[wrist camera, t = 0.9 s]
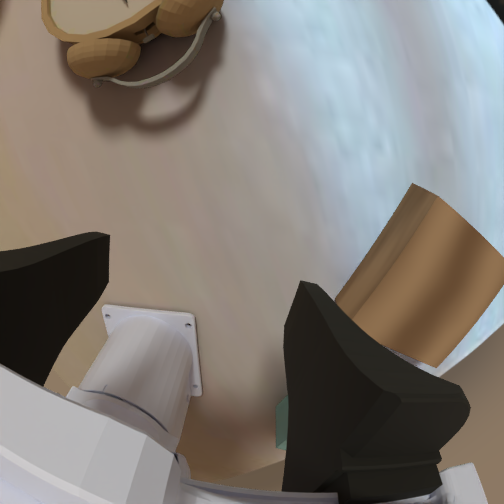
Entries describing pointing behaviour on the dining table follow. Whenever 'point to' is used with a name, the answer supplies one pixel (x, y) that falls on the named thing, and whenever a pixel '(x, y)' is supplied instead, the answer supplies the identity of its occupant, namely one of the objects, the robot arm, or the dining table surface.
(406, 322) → the walnut box
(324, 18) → the dining table surface
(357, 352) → the robot arm
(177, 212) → the dining table surface
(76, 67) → the alarm clock
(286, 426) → the teal block
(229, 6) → the dining table surface
